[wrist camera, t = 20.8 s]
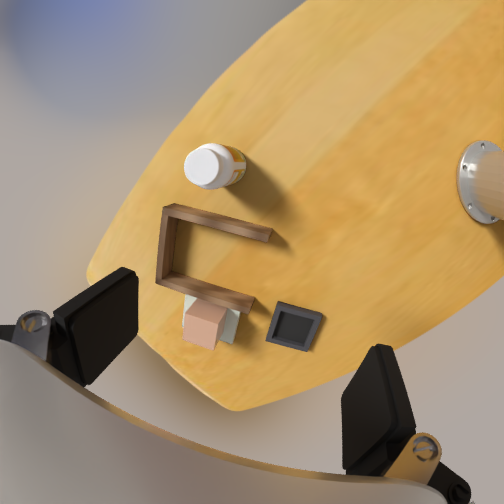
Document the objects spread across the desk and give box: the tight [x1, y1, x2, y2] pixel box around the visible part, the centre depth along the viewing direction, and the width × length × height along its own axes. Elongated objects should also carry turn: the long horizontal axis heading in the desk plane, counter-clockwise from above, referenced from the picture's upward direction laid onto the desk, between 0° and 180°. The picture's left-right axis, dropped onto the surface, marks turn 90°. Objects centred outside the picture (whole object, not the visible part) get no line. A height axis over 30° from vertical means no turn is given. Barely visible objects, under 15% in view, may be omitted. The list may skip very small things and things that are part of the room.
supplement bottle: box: [184, 143, 246, 189], centre depth 31 cm, size 5×5×10 cm
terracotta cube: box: [183, 298, 228, 350], centre depth 40 cm, size 5×5×5 cm
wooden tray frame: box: [155, 203, 272, 314], centre depth 39 cm, size 15×12×4 cm
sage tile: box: [182, 294, 241, 344], centre depth 43 cm, size 9×8×2 cm
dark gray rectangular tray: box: [265, 301, 322, 352], centre depth 41 cm, size 7×7×1 cm
